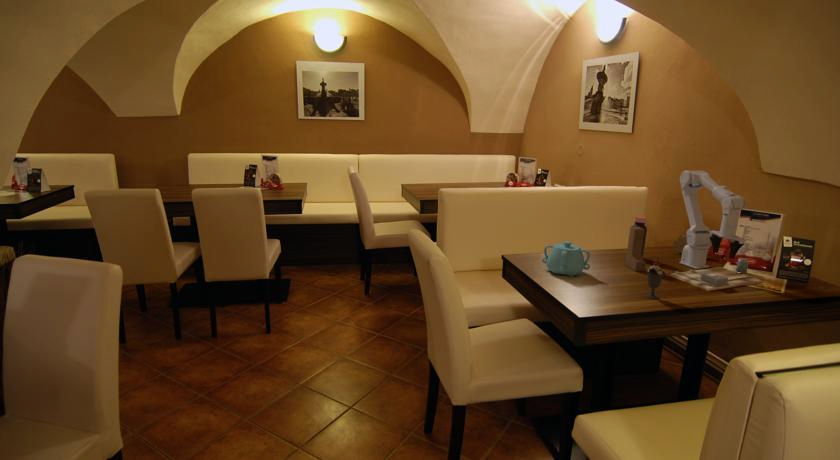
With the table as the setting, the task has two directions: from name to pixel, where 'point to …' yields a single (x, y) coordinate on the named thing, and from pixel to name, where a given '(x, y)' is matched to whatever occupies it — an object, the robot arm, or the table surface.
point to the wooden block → (635, 249)
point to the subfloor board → (732, 276)
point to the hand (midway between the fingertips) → (723, 255)
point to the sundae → (654, 279)
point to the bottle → (641, 222)
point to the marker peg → (742, 265)
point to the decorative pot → (566, 259)
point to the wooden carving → (681, 243)
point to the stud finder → (714, 279)
